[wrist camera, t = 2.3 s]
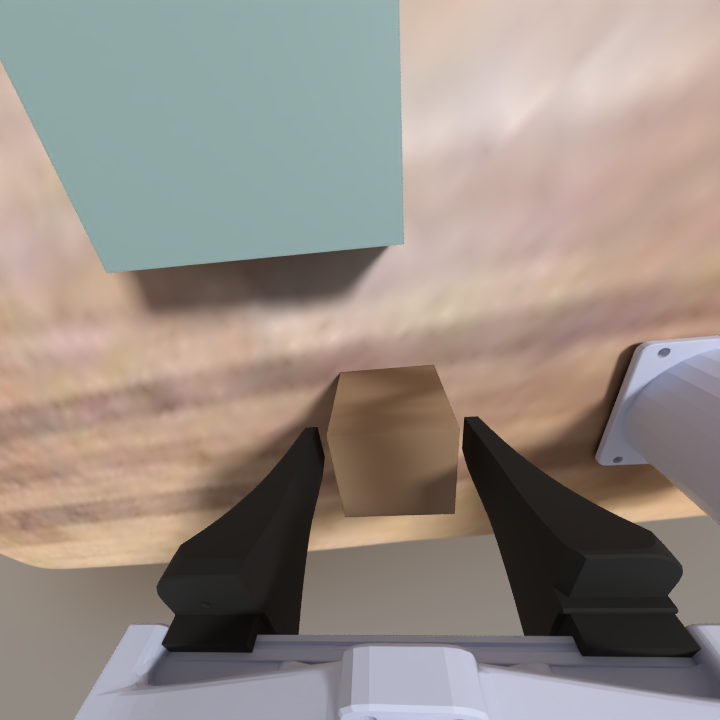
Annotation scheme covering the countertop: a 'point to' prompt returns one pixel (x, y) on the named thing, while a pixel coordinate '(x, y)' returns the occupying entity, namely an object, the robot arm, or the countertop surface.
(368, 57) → the pale teal rectangular box
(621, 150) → the countertop surface
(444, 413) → the walnut cube
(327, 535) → the countertop surface
